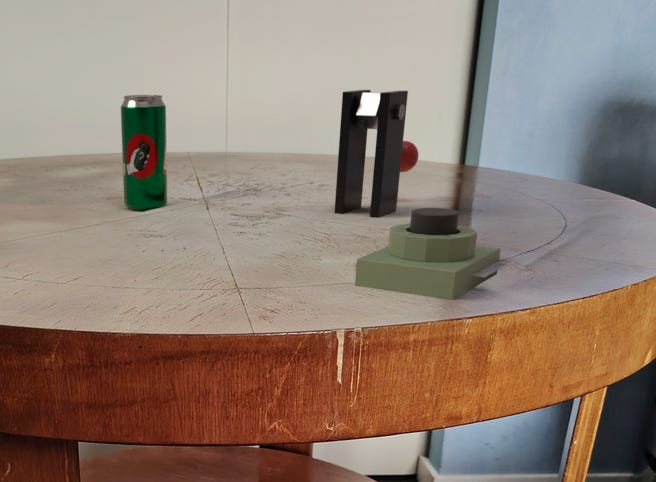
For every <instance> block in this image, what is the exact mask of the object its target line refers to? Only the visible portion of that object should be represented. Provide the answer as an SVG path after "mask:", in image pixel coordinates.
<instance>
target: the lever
mask: <svg viewBox="0 0 656 482" xmlns="http://www.w3.org/2000/svg"><path fill="white" fill-rule="evenodd" d="M380 93H381V92H372V91H371V92H363V93H362V96H361V100H360V103H359V106H358V110H357V113H356V116H357V118H358V119H359V121H360V122H361V124H362V125H363V127H364V128H365V129H368V130H377V126H378V115H379V103H380ZM419 157H420V156H419V149H418V148H417V146H416V145H415V144H414V143H413V142H411V141H408V140H403V146H402V156H401V167H400V173H406V172H409V171H411V170H413V168H414V167H415V166H416V165H417V163H418V161H419Z"/></svg>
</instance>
